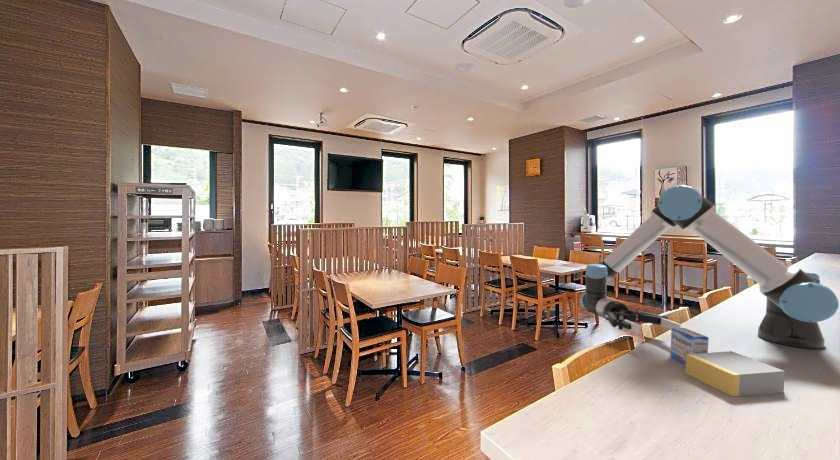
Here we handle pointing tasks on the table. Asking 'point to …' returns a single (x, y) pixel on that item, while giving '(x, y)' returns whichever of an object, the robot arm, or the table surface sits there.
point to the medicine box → (687, 343)
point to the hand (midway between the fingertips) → (660, 329)
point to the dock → (735, 373)
